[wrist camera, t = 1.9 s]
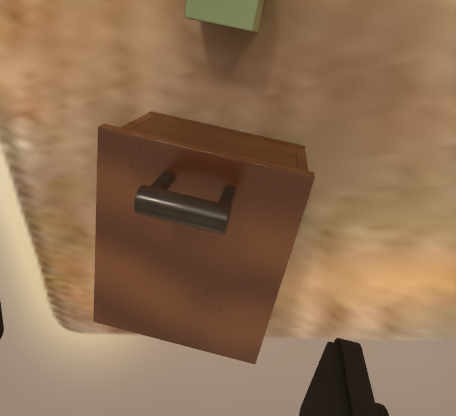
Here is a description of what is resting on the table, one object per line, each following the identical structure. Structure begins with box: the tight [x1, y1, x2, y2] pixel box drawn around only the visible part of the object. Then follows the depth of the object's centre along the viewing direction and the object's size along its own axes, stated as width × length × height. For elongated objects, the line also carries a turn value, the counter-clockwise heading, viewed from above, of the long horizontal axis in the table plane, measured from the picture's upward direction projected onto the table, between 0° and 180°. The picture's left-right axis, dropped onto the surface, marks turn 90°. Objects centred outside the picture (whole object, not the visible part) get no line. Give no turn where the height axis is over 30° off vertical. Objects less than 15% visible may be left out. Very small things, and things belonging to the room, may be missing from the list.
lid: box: [94, 124, 315, 364], centre depth 24 cm, size 16×14×5 cm
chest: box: [121, 112, 308, 171], centre depth 30 cm, size 16×14×9 cm
